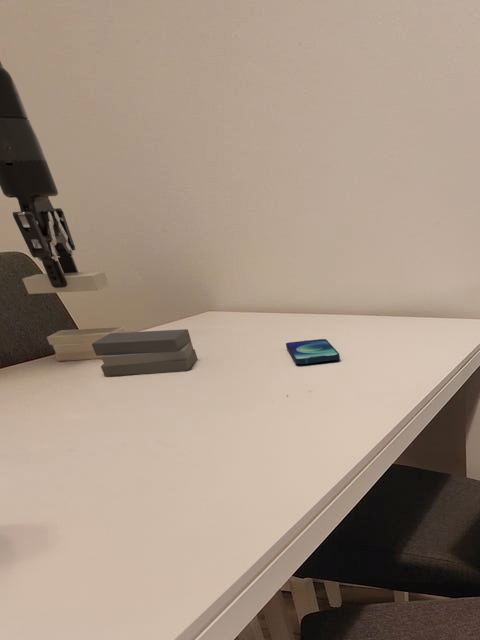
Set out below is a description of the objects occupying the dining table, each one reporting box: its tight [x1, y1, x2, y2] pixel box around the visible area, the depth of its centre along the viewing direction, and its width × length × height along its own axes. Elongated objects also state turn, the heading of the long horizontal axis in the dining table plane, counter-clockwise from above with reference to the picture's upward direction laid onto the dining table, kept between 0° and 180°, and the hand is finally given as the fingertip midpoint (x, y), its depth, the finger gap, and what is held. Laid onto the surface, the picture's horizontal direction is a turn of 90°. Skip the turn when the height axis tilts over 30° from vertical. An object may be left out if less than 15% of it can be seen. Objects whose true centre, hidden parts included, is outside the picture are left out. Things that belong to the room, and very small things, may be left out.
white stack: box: [46, 326, 126, 362], centre depth 106 cm, size 12×7×4 cm, turn 101°
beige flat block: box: [21, 270, 110, 295], centre depth 100 cm, size 11×6×2 cm, turn 100°
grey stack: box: [92, 328, 198, 378], centre depth 98 cm, size 14×9×5 cm
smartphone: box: [285, 338, 341, 365], centre depth 103 cm, size 8×1×15 cm
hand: (67, 284), depth 101 cm, fingers closed on beige flat block, 6 cm apart
